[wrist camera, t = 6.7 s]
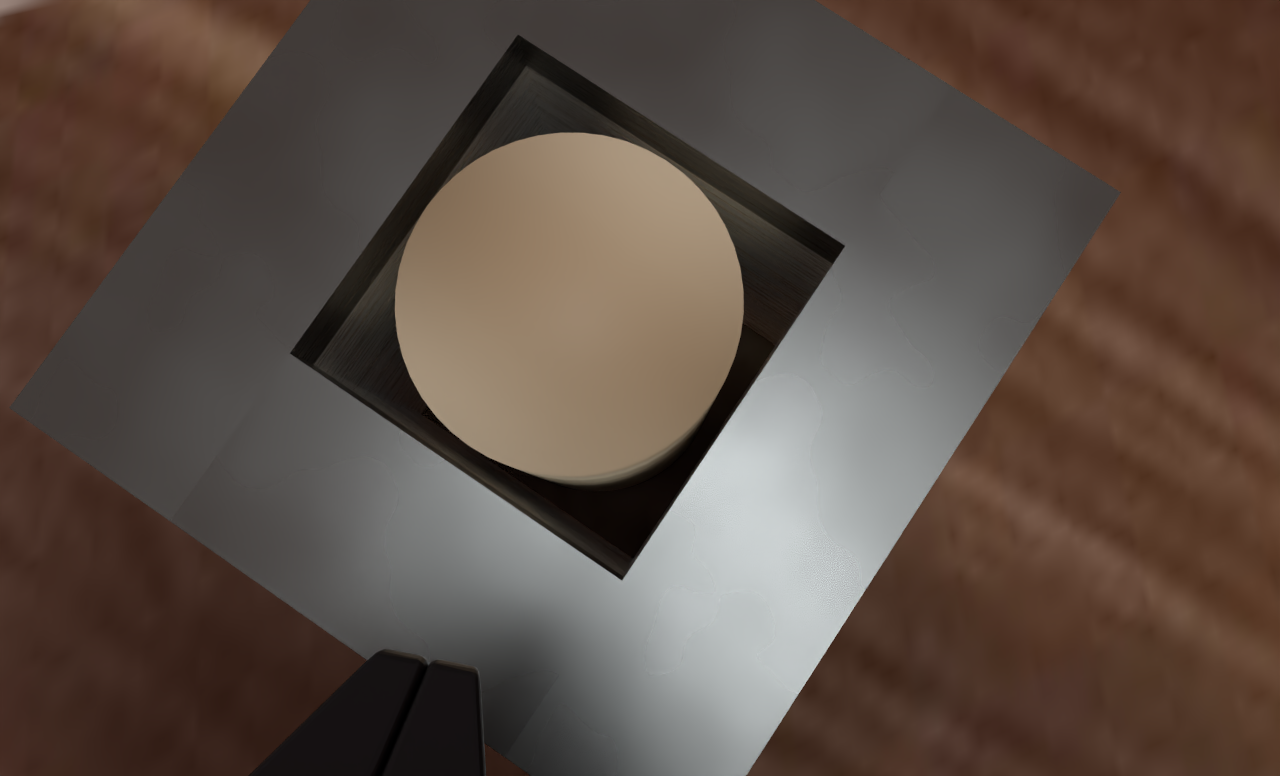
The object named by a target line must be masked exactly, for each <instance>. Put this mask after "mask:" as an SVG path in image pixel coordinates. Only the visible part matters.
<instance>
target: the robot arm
mask: <svg viewBox="0 0 1280 776" xmlns="http://www.w3.org/2000/svg"><path fill="white" fill-rule="evenodd" d="M249 776H486V766H485V750H484V733H483V716H482V699H481V683H480V674H479V671H478V669H477V668H476V667H474V666H471V665H466V664H461V663H456V662H451V661H446V660H441V659H439V660H434V661H432V662H431V663H430V664H429V662H428V660H427V659H426V658H425V657H423V656H421V655H416V654H411V653H406V652H401V651H396V650H391V649H383V650H380V651H378V652H376V653H375V654H374V655H373V656H371V657H370V658H369V659H368V660H367V661H366V662H365V663H364V664H363V665H362V666H361V667H360V668H359V669H358V670H357V671H356V672H355V673H354V674H353V675H352V676H351V677H350V678H349V679H348V680H347V681H346V682H344V683H343V684H342V685H341V686H340V687H339V688H338V689H337V690H336V691H335V692H334V693H333V694H332V695H331V696H330V697H329V698H328V699H327V700H326V701H325V702H324V703H323V704H322V705H321V706H320V707H319V708H318V709H317V710H316V711H315V712H314V713H313V714H311V715H310V716H309V717H308V718H307V719H306V720H305V721H304V722H303V723H302V724H301V725H300V726H299V727H298V728H297V729H296V730H295V731H294V732H293V733H292V734H291V735H290V736H289V737H288V738H287V739H286V740H285V741H284V742H283V743H282V744H281V745H280V746H279V747H277V748H276V749H275V750H274V751H273V752H272V753H271V754H270V755H269V756H268V757H267V758H266V759H265V760H264V761H263V762H262V763H261V764H260V765H259V766H258V767H257V768H256V769H255V770H254V771H253V772H252V773H251V774H250V775H249Z"/></svg>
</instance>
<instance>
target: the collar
mask: <svg viewBox="0 0 1280 776" xmlns="http://www.w3.org/2000/svg"><path fill="white" fill-rule="evenodd" d="M553 133H589V134H596V135H604V136H608V137H612V138H616V139H620V140H624V141H627V142H629V143H632V144H634V145H637V146H639V147H642V148H644V149H647V150H649V151H650V152H652V153H654V154H656V155H658V156H659V157H661V158H663V159H665V160H666V161H668V162H669V163H670V164H672V165H673V166H674V167H676V168H677V169H679V170H680V171H681V172H683V173H684V174H685V175H686V176H687V177H688V178H689V179H690V180H691V181H692V182H693V183H694V184H695V185H696V186H697V187H698V188H699V189H700V190H701V191H702V192H703V193H704V195H705V196H706V197H707V198H708V200H709V201H710V202H711V204H712V205H713V206H714V208H715V209H716V211H717V213H718V214H719V216H720V218H721V219H722V221H723V223H724V224H725V226H726V228H727V231H728V233H729V235H730V238H731V240H732V242H733V245H734V247H735V251H736V254H737V258H738V261H739V265H740V269H741V276H742V283H743V296H744V314H743V322H742V324H744V325H746V326H747V327H749V328H750V329H752V330H753V331H755V332H756V333H758V334H759V335H761V336H762V337H764V338H765V339H767V340H768V341H770V342H771V343H773V344H774V345H775V347H774V348H773V350H772V351H771V353H770V354H769V356H768V357H767V359H766V360H765V362H764V363H763V365H762V366H761V368H760V369H759V371H758V372H757V374H756V375H755V377H754V378H753V380H752V381H751V383H750V384H749V386H748V387H747V389H746V390H745V392H744V393H743V395H742V396H741V398H740V399H739V401H738V402H737V404H736V405H735V407H734V408H733V410H732V411H731V413H730V414H729V416H728V417H727V419H726V420H725V422H724V423H723V425H722V426H721V428H720V429H719V431H718V432H717V434H716V435H715V437H714V438H713V440H712V441H711V443H710V444H709V446H708V447H707V449H706V450H705V452H704V453H703V455H702V456H701V458H700V459H699V461H698V462H697V464H696V465H695V467H694V468H693V470H692V471H691V473H690V474H689V476H688V477H687V479H686V480H685V482H684V483H683V485H682V486H681V488H680V489H679V490H678V492H677V493H676V495H675V496H674V498H673V499H672V501H671V502H670V504H669V505H668V507H667V508H666V510H665V511H664V513H663V514H662V516H661V517H660V519H659V520H658V522H657V523H656V525H655V526H654V528H653V529H652V531H651V532H650V534H649V535H648V537H647V538H646V540H645V541H644V543H643V544H642V546H641V547H640V549H639V550H638V552H637V553H636V555H635V556H634V558H632V557H630V556H629V555H627V554H626V553H624V552H623V551H621V550H620V549H618V548H617V547H616V546H614V545H613V544H611V543H610V542H608V541H607V540H605V539H604V538H602V537H601V536H599V535H598V534H597V533H595V532H594V531H592V530H591V529H589V528H588V527H586V526H585V525H583V524H582V523H580V522H579V521H577V520H576V519H575V518H573V517H572V516H570V515H569V514H567V513H566V512H564V511H563V510H561V509H560V508H558V507H557V506H555V505H554V504H553V503H551V502H550V501H548V500H547V499H545V498H544V497H542V496H541V495H539V494H538V493H536V492H535V491H533V490H532V489H531V488H529V487H528V486H526V485H525V484H523V483H522V482H520V481H519V480H517V479H516V478H514V477H513V476H511V475H510V474H509V473H507V472H506V471H504V470H503V469H501V468H500V467H498V466H497V465H495V464H494V463H492V462H491V461H489V460H488V459H487V458H485V457H484V456H482V455H481V454H479V453H478V452H476V451H475V450H473V449H472V448H470V447H469V446H467V445H466V444H465V443H463V442H462V441H460V440H459V439H457V438H456V437H454V436H453V435H451V434H450V433H448V432H447V431H445V430H444V429H443V428H441V427H440V426H438V425H437V424H435V423H434V422H432V421H431V420H429V419H428V418H426V417H425V416H423V415H422V413H423V411H424V410H425V408H426V407H427V404H426V403H425V401H424V400H423V399H422V397H421V395H420V394H419V392H418V390H417V388H416V386H415V384H414V383H413V381H412V379H411V377H410V375H409V372H408V369H407V367H406V364H405V362H404V359H403V357H402V353H401V348H400V344H399V340H398V336H397V328H396V319H395V290H396V284H397V277H398V271H399V266H400V263H401V260H402V256H403V253H404V250H405V246H406V244H407V242H408V240H409V237H410V235H411V233H412V231H413V229H414V226H415V225H416V223H417V221H418V220H419V218H420V216H421V215H422V213H423V212H424V210H425V208H426V207H427V205H428V204H429V203H430V202H431V201H432V199H433V198H434V197H435V196H436V194H437V193H438V192H439V191H440V189H441V188H442V187H444V186H445V185H446V184H447V183H448V182H449V181H450V180H451V179H452V178H453V177H454V176H455V175H456V174H457V173H459V172H460V171H461V170H463V169H464V168H465V167H467V166H468V165H470V164H471V163H472V162H474V161H475V160H477V159H479V158H480V157H482V156H484V155H486V154H488V153H489V152H491V151H493V150H495V149H497V148H500V147H502V146H505V145H507V144H510V143H512V142H515V141H518V140H522V139H526V138H530V137H534V136H538V135H546V134H553ZM1120 193H1121V192H1119V191H1118V190H1116V189H1114V188H1113V187H1111V186H1110V185H1108V184H1106V183H1105V182H1103V181H1102V180H1100V179H1098V178H1097V177H1095V176H1094V175H1092V174H1091V173H1089V172H1087V171H1086V170H1084V169H1083V168H1081V167H1079V166H1078V165H1076V164H1075V163H1073V162H1071V161H1070V160H1068V159H1067V158H1065V157H1063V156H1062V155H1060V154H1059V153H1057V152H1055V151H1054V150H1052V149H1051V148H1049V147H1048V146H1046V145H1044V144H1043V143H1041V142H1040V141H1038V140H1036V139H1035V138H1033V137H1032V136H1030V135H1028V134H1027V133H1025V132H1024V131H1022V130H1020V129H1019V128H1017V127H1016V126H1014V125H1012V124H1011V123H1009V122H1008V121H1006V120H1004V119H1003V118H1001V117H1000V116H998V115H997V114H995V113H993V112H992V111H990V110H989V109H987V108H985V107H984V106H982V105H981V104H979V103H977V102H976V101H974V100H973V99H971V98H969V97H968V96H966V95H965V94H963V93H961V92H960V91H958V90H957V89H955V88H954V87H952V86H950V85H949V84H947V83H946V82H944V81H942V80H941V79H939V78H938V77H936V76H934V75H933V74H931V73H930V72H928V71H926V70H925V69H923V68H922V67H920V66H918V65H917V64H915V63H914V62H912V61H910V60H909V59H907V58H906V57H904V56H903V55H901V54H899V53H898V52H896V51H895V50H893V49H891V48H890V47H888V46H887V45H885V44H883V43H882V42H880V41H879V40H877V39H875V38H874V37H872V36H871V35H869V34H867V33H866V32H864V31H863V30H861V29H860V28H858V27H856V26H855V25H853V24H852V23H850V22H848V21H847V20H845V19H844V18H842V17H840V16H839V15H837V14H836V13H834V12H832V11H831V10H829V9H828V8H826V7H824V6H823V5H821V4H820V3H818V2H817V1H815V0H310V2H309V3H308V4H307V6H306V7H305V8H304V10H303V11H302V13H301V14H300V15H299V17H298V18H297V19H296V21H295V22H294V23H293V25H292V26H291V27H290V29H289V30H288V31H287V33H286V34H285V36H284V37H283V38H282V40H281V41H280V42H279V44H278V45H277V46H276V48H275V49H274V50H273V52H272V53H271V54H270V56H269V57H268V59H267V60H266V61H265V63H264V64H263V65H262V67H261V68H260V69H259V71H258V72H257V73H256V75H255V76H254V77H253V79H252V80H251V82H250V83H249V84H248V86H247V87H246V88H245V90H244V91H243V92H242V94H241V95H240V96H239V98H238V99H237V100H236V102H235V103H234V105H233V106H232V107H231V109H230V110H229V111H228V113H227V114H226V115H225V117H224V118H223V119H222V121H221V122H220V123H219V125H218V126H217V128H216V129H215V130H214V132H213V133H212V134H211V136H210V137H209V138H208V140H207V141H206V142H205V144H204V145H203V146H202V148H201V149H200V151H199V152H198V153H197V155H196V156H195V157H194V159H193V160H192V161H191V163H190V164H189V165H188V167H187V168H186V169H185V171H184V172H183V174H182V175H181V176H180V178H179V179H178V180H177V182H176V183H175V184H174V186H173V187H172V188H171V190H170V191H169V192H168V194H167V195H166V197H165V198H164V199H163V201H162V202H161V203H160V205H159V206H158V207H157V209H156V210H155V211H154V213H153V214H152V215H151V217H150V218H149V220H148V221H147V222H146V224H145V225H144V226H143V228H142V229H141V230H140V232H139V233H138V234H137V236H136V237H135V238H134V240H133V241H132V243H131V244H130V245H129V247H128V248H127V249H126V251H125V252H124V253H123V255H122V256H121V257H120V259H119V260H118V262H117V263H116V264H115V266H114V267H113V268H112V270H111V271H110V272H109V274H108V275H107V276H106V278H105V279H104V280H103V282H102V283H101V285H100V286H99V287H98V289H97V290H96V291H95V293H94V294H93V295H92V297H91V298H90V299H89V301H88V302H87V303H86V305H85V306H84V308H83V309H82V310H81V312H80V313H79V314H78V316H77V317H76V318H75V320H74V321H73V322H72V324H71V325H70V326H69V328H68V329H67V331H66V332H65V333H64V335H63V336H62V337H61V339H60V340H59V341H58V343H57V344H56V345H55V347H54V348H53V349H52V351H51V352H50V354H49V355H48V356H47V358H46V359H45V360H44V362H43V363H42V364H41V366H40V367H39V368H38V370H37V371H36V372H35V374H34V375H33V377H32V378H31V379H30V381H29V382H28V383H27V385H26V386H25V387H24V389H23V390H22V391H21V393H20V394H19V395H18V397H17V398H16V400H15V401H14V402H13V404H12V405H11V406H10V409H12V410H13V411H15V412H16V413H17V414H19V415H20V416H22V417H23V418H25V419H26V420H27V421H29V422H30V423H32V424H33V425H34V426H36V427H37V428H39V429H40V430H42V431H43V432H44V433H46V434H47V435H49V436H50V437H51V438H53V439H54V440H56V441H57V442H59V443H60V444H61V445H63V446H64V447H66V448H67V449H69V450H70V451H71V452H73V453H74V454H76V455H77V456H78V457H80V458H81V459H83V460H84V461H86V462H87V463H88V464H90V465H91V466H93V467H94V468H95V469H97V470H98V471H100V472H101V473H103V474H104V475H105V476H107V477H108V478H110V479H111V480H112V481H114V482H115V483H117V484H118V485H120V486H121V487H122V488H124V489H125V490H127V491H128V492H129V493H131V494H132V495H134V496H135V497H137V498H138V499H139V500H141V501H142V502H144V503H145V504H147V505H148V506H149V507H151V508H152V509H154V510H155V511H156V512H158V513H159V514H161V515H162V516H164V517H165V518H166V519H168V520H169V521H171V522H172V523H173V524H175V525H176V526H178V527H179V528H181V529H182V530H183V531H185V532H186V533H188V534H189V535H190V536H192V537H193V538H195V539H196V540H198V541H199V542H200V543H202V544H203V545H205V546H206V547H207V548H209V549H210V550H212V551H213V552H215V553H216V554H217V555H219V556H220V557H222V558H223V559H224V560H226V561H227V562H229V563H230V564H232V565H233V566H234V567H236V568H237V569H239V570H240V571H242V572H243V573H244V574H246V575H247V576H249V577H250V578H251V579H253V580H254V581H256V582H257V583H259V584H260V585H261V586H263V587H264V588H266V589H267V590H268V591H270V592H271V593H273V594H274V595H276V596H277V597H278V598H280V599H281V600H283V601H284V602H285V603H287V604H288V605H290V606H291V607H293V608H294V609H295V610H297V611H298V612H300V613H301V614H302V615H304V616H305V617H307V618H308V619H310V620H311V621H312V622H314V623H315V624H317V625H318V626H320V627H321V628H322V629H324V630H325V631H327V632H328V633H329V634H331V635H332V636H334V637H335V638H337V639H338V640H339V641H341V642H342V643H344V644H345V645H346V646H348V647H349V648H351V649H352V650H354V651H355V652H356V653H358V654H359V655H361V656H362V657H363V658H365V659H366V660H368V659H369V658H370V657H371V656H373V655H374V654H375V653H376V652H378V651H380V650H383V649H391V650H396V651H401V652H406V653H411V654H416V655H421V656H423V657H425V658H426V659H427V660H428V662H429V664H430V663H431V662H432V661H434V660H439V659H441V660H446V661H451V662H456V663H461V664H466V665H471V666H474V667H476V668H477V669H478V671H479V674H480V683H481V699H482V716H483V733H484V743H485V744H487V745H488V746H490V747H491V748H493V749H494V750H495V751H497V752H498V753H500V754H501V755H502V756H504V757H505V758H507V759H508V760H510V761H511V762H512V763H514V764H515V765H517V766H518V767H519V768H521V769H522V770H524V771H525V772H527V773H528V774H529V775H531V776H746V775H747V773H748V772H749V770H750V769H751V767H752V766H753V764H754V762H755V761H756V759H757V758H758V756H759V755H760V753H761V752H762V750H763V748H764V747H765V745H766V744H767V742H768V741H769V739H770V738H771V736H772V734H773V733H774V731H775V730H776V728H777V727H778V725H779V724H780V722H781V720H782V719H783V717H784V716H785V714H786V713H787V711H788V710H789V708H790V706H791V705H792V703H793V702H794V700H795V699H796V697H797V696H798V694H799V692H800V691H801V689H802V688H803V686H804V685H805V683H806V682H807V680H808V678H809V677H810V675H811V674H812V672H813V671H814V669H815V668H816V666H817V664H818V663H819V661H820V660H821V658H822V657H823V655H824V654H825V652H826V650H827V649H828V647H829V646H830V644H831V643H832V641H833V640H834V638H835V636H836V635H837V633H838V632H839V630H840V629H841V627H842V626H843V624H844V622H845V621H846V619H847V618H848V616H849V615H850V613H851V611H852V610H853V608H854V607H855V605H856V604H857V602H858V601H859V599H860V597H861V596H862V594H863V593H864V591H865V590H866V588H867V587H868V585H869V583H870V582H871V580H872V579H873V577H874V576H875V574H876V573H877V571H878V569H879V568H880V566H881V565H882V563H883V562H884V560H885V559H886V557H887V555H888V554H889V552H890V551H891V549H892V548H893V546H894V545H895V543H896V541H897V540H898V538H899V537H900V535H901V534H902V532H903V531H904V529H905V527H906V526H907V524H908V523H909V521H910V520H911V518H912V517H913V515H914V513H915V512H916V510H917V509H918V507H919V506H920V504H921V503H922V501H923V499H924V498H925V496H926V495H927V493H928V492H929V490H930V489H931V487H932V485H933V484H934V482H935V481H936V479H937V478H938V476H939V475H940V473H941V471H942V470H943V468H944V467H945V465H946V464H947V462H948V461H949V459H950V457H951V456H952V454H953V453H954V451H955V450H956V448H957V447H958V445H959V443H960V442H961V440H962V439H963V437H964V436H965V434H966V432H967V431H968V429H969V428H970V426H971V425H972V423H973V422H974V420H975V418H976V417H977V415H978V414H979V412H980V411H981V409H982V408H983V406H984V404H985V403H986V401H987V400H988V398H989V397H990V395H991V394H992V392H993V390H994V389H995V387H996V386H997V384H998V383H999V381H1000V380H1001V378H1002V376H1003V375H1004V373H1005V372H1006V370H1007V369H1008V367H1009V366H1010V364H1011V362H1012V361H1013V359H1014V358H1015V356H1016V355H1017V353H1018V352H1019V350H1020V348H1021V347H1022V345H1023V344H1024V342H1025V341H1026V339H1027V338H1028V336H1029V334H1030V333H1031V331H1032V330H1033V328H1034V327H1035V325H1036V324H1037V322H1038V320H1039V319H1040V317H1041V316H1042V314H1043V313H1044V311H1045V310H1046V308H1047V306H1048V305H1049V303H1050V302H1051V300H1052V299H1053V297H1054V296H1055V294H1056V292H1057V291H1058V289H1059V288H1060V286H1061V285H1062V283H1063V282H1064V280H1065V278H1066V277H1067V275H1068V274H1069V272H1070V271H1071V269H1072V268H1073V266H1074V264H1075V263H1076V261H1077V260H1078V258H1079V257H1080V255H1081V253H1082V252H1083V250H1084V249H1085V247H1086V246H1087V244H1088V243H1089V241H1090V239H1091V238H1092V236H1093V235H1094V233H1095V232H1096V230H1097V229H1098V227H1099V225H1100V224H1101V222H1102V221H1103V219H1104V218H1105V216H1106V215H1107V213H1108V211H1109V210H1110V208H1111V207H1112V205H1113V204H1114V202H1115V201H1116V199H1117V197H1118V196H1119V194H1120Z"/></svg>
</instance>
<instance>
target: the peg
mask: <svg viewBox="0 0 1280 776" xmlns="http://www.w3.org/2000/svg"><path fill="white" fill-rule="evenodd" d="M743 314H744V296H743V283H742V276H741V269H740V265H739V261H738V258H737V254H736V251H735V247H734V245H733V242H732V240H731V238H730V235H729V233H728V231H727V228H726V226H725V224H724V223H723V221H722V219H721V218H720V216H719V214H718V213H717V211H716V209H715V208H714V206H713V205H712V204H711V202H710V201H709V200H708V198H707V197H706V196H705V195H704V193H703V192H702V191H701V190H700V189H699V188H698V187H697V186H696V185H695V184H694V183H693V182H692V181H691V180H690V179H689V178H688V177H687V176H686V175H685V174H684V173H683V172H681V171H680V170H679V169H677V168H676V167H674V166H673V165H672V164H670V163H669V162H668V161H666V160H665V159H663V158H661V157H659V156H658V155H656V154H654V153H652V152H650V151H649V150H647V149H644V148H642V147H639V146H637V145H634V144H632V143H629V142H627V141H624V140H620V139H616V138H612V137H608V136H604V135H596V134H589V133H553V134H546V135H538V136H534V137H530V138H526V139H522V140H518V141H515V142H512V143H510V144H507V145H505V146H502V147H500V148H497V149H495V150H493V151H491V152H489V153H488V154H486V155H484V156H482V157H480V158H479V159H477V160H475V161H474V162H472V163H471V164H470V165H468V166H467V167H465V168H464V169H463V170H461V171H460V172H459V173H457V174H456V175H455V176H454V177H453V178H452V179H451V180H450V181H449V182H448V183H447V184H446V185H445V186H444V187H442V188H441V189H440V191H439V192H438V193H437V194H436V196H435V197H434V198H433V199H432V201H431V202H430V203H429V204H428V205H427V207H426V208H425V210H424V212H423V213H422V215H421V216H420V218H419V220H418V221H417V223H416V225H415V226H414V229H413V231H412V233H411V235H410V237H409V240H408V242H407V244H406V246H405V250H404V253H403V256H402V260H401V263H400V266H399V271H398V277H397V284H396V290H395V319H396V328H397V336H398V340H399V344H400V348H401V353H402V357H403V359H404V362H405V364H406V367H407V369H408V372H409V375H410V377H411V379H412V381H413V383H414V384H415V386H416V388H417V390H418V392H419V394H420V395H421V397H422V399H423V400H424V401H425V403H426V404H427V405H428V407H429V408H430V409H431V411H432V412H433V413H434V415H435V416H436V417H437V418H438V419H439V420H440V421H441V422H442V423H443V424H444V425H445V426H446V427H447V428H448V429H449V430H450V431H451V432H452V433H453V434H454V435H456V436H457V437H458V438H460V439H461V440H462V441H463V442H465V443H466V444H467V445H468V446H470V447H472V448H473V449H475V450H477V451H478V452H480V453H482V454H484V455H485V456H487V457H489V458H491V459H493V460H496V461H498V462H500V463H503V464H505V465H508V466H510V467H513V468H515V469H518V470H520V471H523V472H526V473H528V474H531V475H534V476H536V477H539V478H542V479H544V480H547V481H549V482H552V483H555V484H557V485H560V486H564V487H567V488H571V489H575V490H583V491H612V490H620V489H623V488H627V487H631V486H634V485H637V484H639V483H642V482H644V481H647V480H649V479H650V478H652V477H654V476H656V475H657V474H659V473H661V472H662V471H664V470H665V469H666V468H668V467H669V466H670V465H671V464H673V463H674V462H675V461H676V460H677V459H678V458H679V457H680V456H681V455H682V454H683V453H684V452H685V450H686V449H687V448H688V446H689V445H690V444H691V443H692V441H693V440H694V438H695V436H696V434H697V433H698V431H699V429H700V428H701V426H702V424H703V422H704V420H705V418H706V416H707V414H708V412H709V410H710V408H711V406H712V405H713V403H714V401H715V399H716V397H717V395H718V393H719V391H720V389H721V387H722V385H723V383H724V382H725V380H726V378H727V375H728V373H729V370H730V368H731V365H732V363H733V361H734V358H735V355H736V351H737V347H738V344H739V340H740V336H741V329H742V322H743Z"/></svg>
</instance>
